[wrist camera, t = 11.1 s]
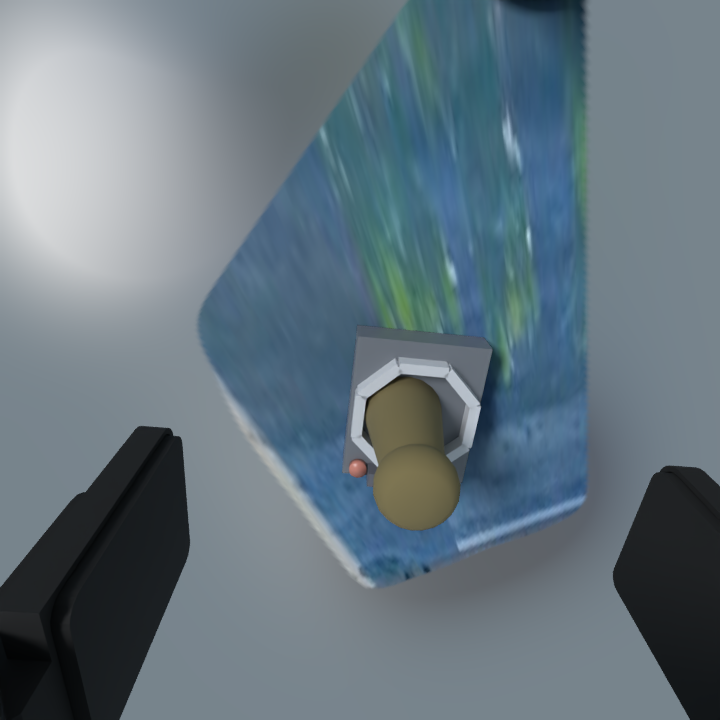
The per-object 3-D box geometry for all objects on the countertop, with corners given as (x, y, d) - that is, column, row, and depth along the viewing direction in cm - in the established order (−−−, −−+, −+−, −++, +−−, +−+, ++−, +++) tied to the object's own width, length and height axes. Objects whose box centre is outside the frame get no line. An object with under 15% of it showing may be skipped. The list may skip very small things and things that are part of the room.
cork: (457, 412, 37) (495, 507, 27) (399, 458, 39) (415, 563, 29) (405, 360, 36) (425, 441, 26) (347, 410, 37) (344, 505, 27)
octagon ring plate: (357, 325, 37) (357, 343, 34) (484, 337, 38) (498, 357, 34) (343, 455, 42) (341, 484, 38) (456, 465, 42) (465, 494, 39)
